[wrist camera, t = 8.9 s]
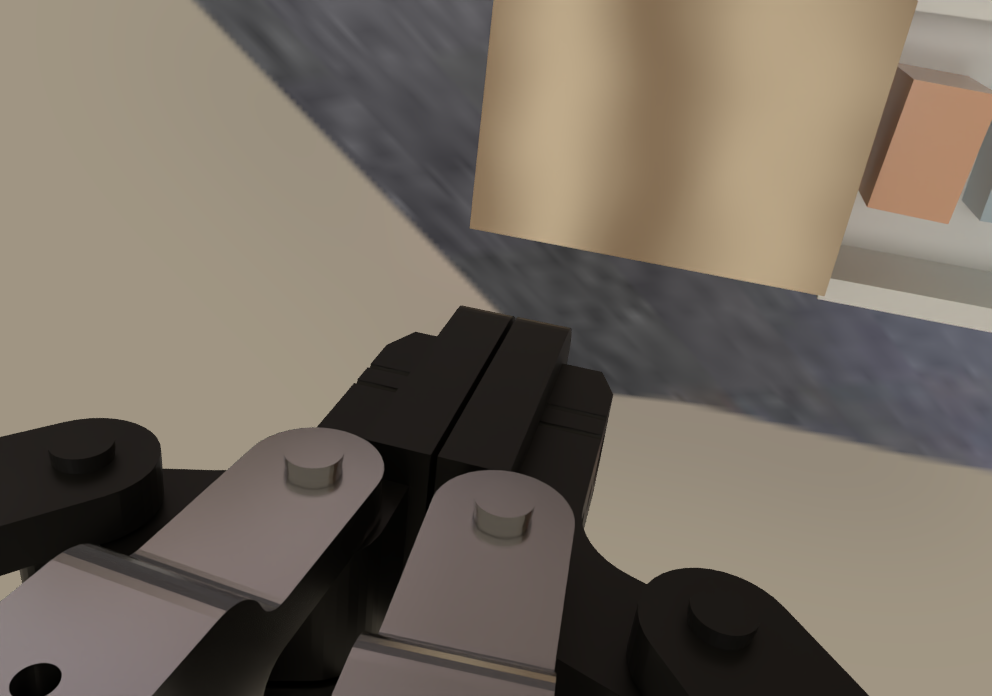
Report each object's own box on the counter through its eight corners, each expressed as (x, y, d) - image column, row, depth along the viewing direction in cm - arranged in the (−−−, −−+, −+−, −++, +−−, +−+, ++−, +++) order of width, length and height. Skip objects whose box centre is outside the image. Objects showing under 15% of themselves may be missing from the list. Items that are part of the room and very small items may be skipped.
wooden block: (886, -11, 29) (918, 0, 24) (810, 242, 33) (824, 296, 28) (535, -59, 31) (499, -57, 26) (505, 186, 35) (469, 228, 30)
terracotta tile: (891, 61, 29) (968, 75, 29) (851, 175, 31) (922, 190, 31) (913, 79, 26) (1001, 95, 25) (867, 207, 27) (948, 224, 27)
